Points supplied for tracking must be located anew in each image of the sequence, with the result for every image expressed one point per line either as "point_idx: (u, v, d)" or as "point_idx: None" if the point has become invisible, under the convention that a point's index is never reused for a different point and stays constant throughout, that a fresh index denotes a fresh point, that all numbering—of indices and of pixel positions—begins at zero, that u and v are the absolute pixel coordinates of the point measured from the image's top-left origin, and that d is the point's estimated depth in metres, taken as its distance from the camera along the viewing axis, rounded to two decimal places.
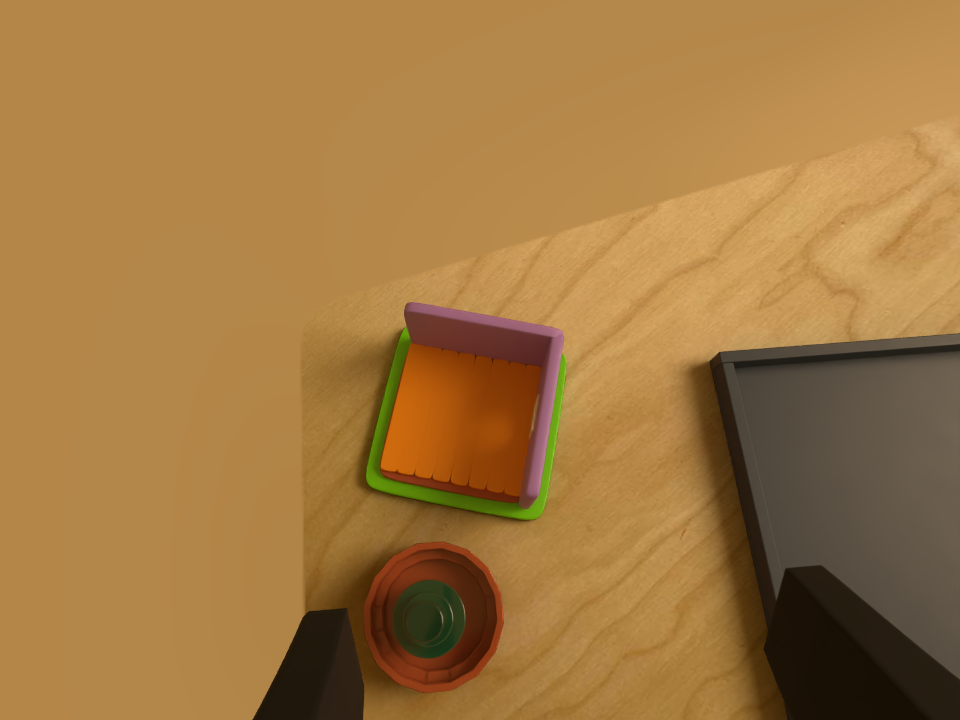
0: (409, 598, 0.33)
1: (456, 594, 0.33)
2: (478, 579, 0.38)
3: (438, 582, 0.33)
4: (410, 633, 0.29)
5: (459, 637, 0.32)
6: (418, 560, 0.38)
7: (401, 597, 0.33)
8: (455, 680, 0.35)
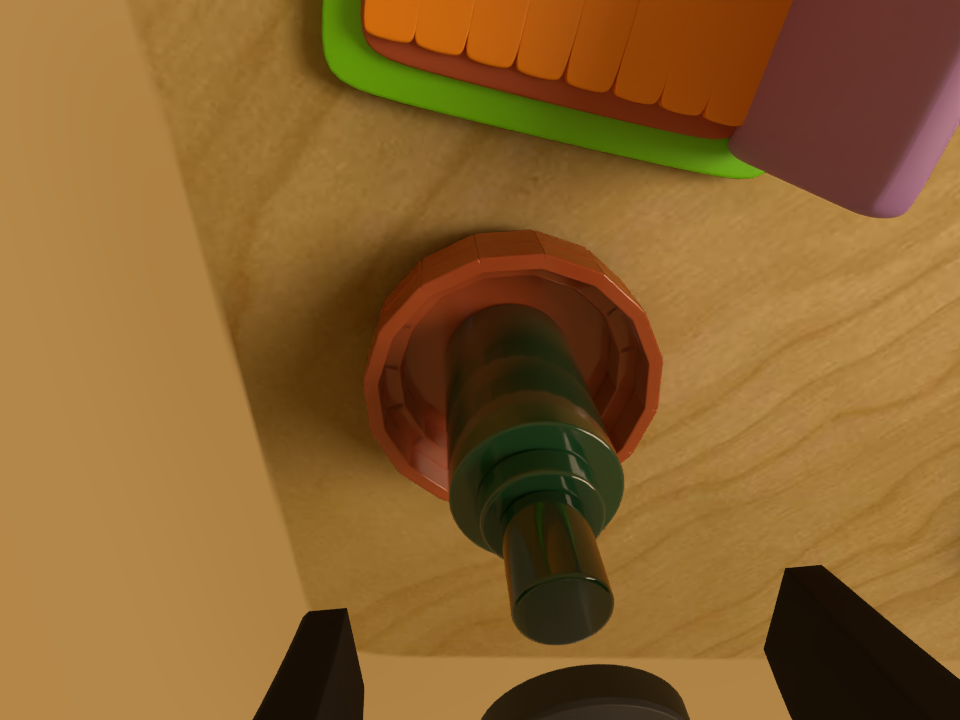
0: (491, 461, 0.13)
1: (609, 451, 0.13)
2: (609, 317, 0.17)
3: (566, 428, 0.13)
4: (524, 633, 0.11)
5: (604, 525, 0.14)
6: (477, 279, 0.16)
7: (470, 459, 0.13)
8: None
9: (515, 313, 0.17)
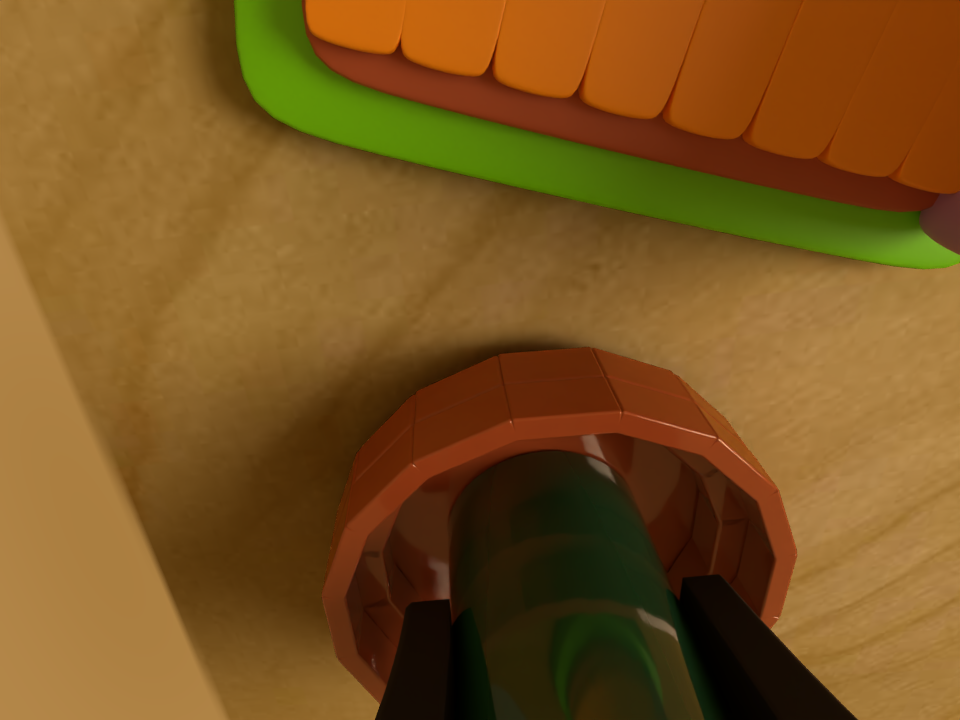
0: None
1: None
2: (709, 480, 0.11)
3: None
4: None
5: None
6: None
7: None
8: None
9: (559, 473, 0.11)
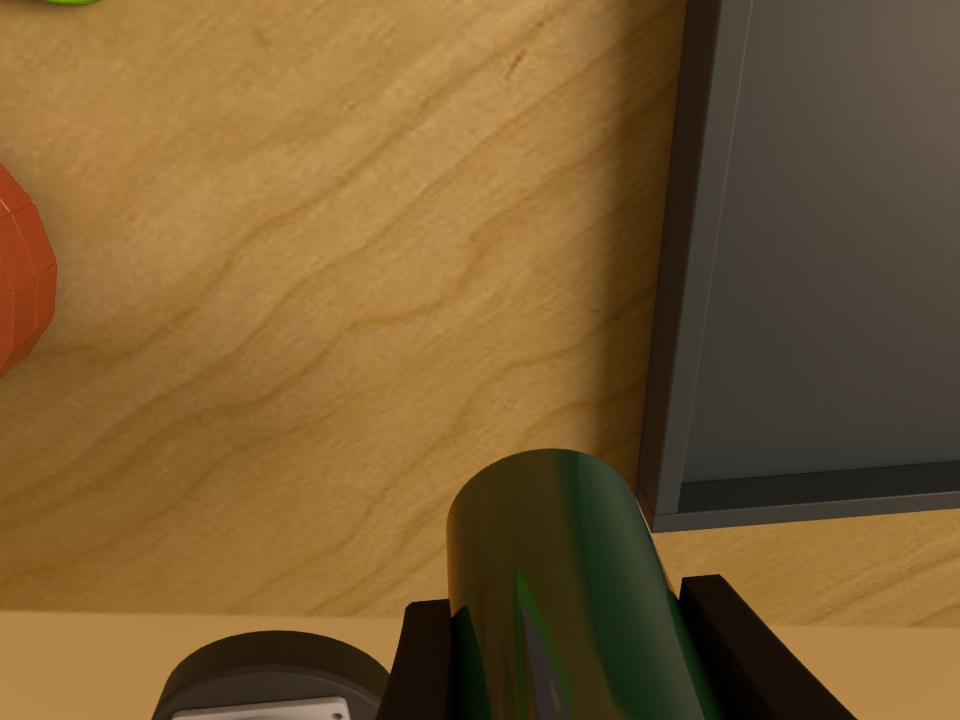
0: None
1: None
2: None
3: None
4: None
5: None
6: None
7: None
8: None
9: (558, 470, 0.11)
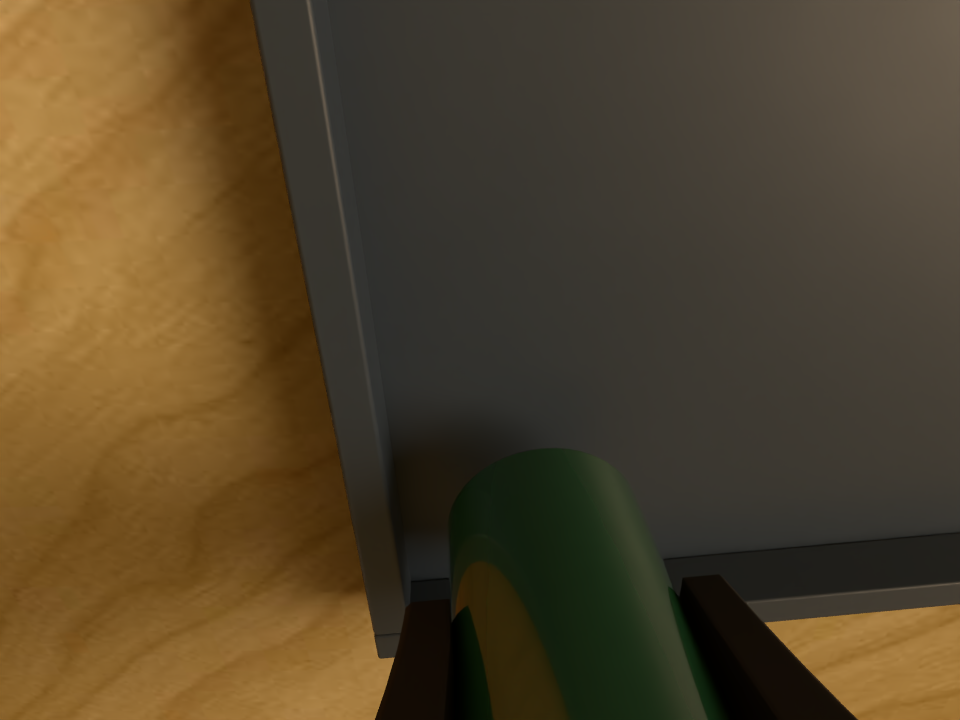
0: None
1: None
2: None
3: None
4: None
5: None
6: None
7: None
8: None
9: (559, 470, 0.11)
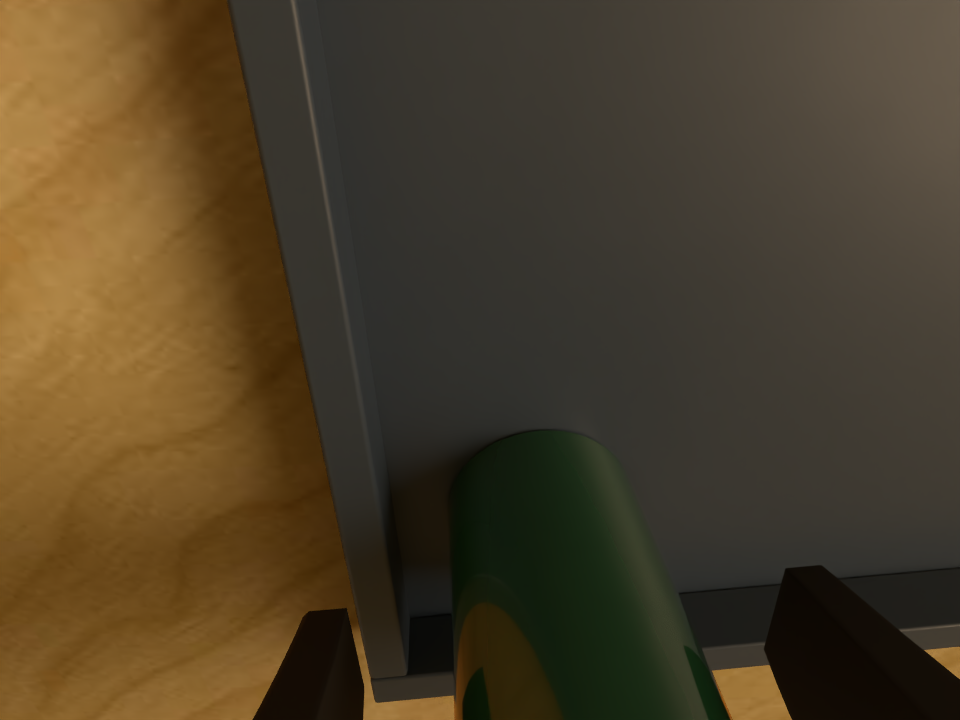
0: None
1: None
2: None
3: None
4: None
5: None
6: None
7: None
8: None
9: (554, 450, 0.11)
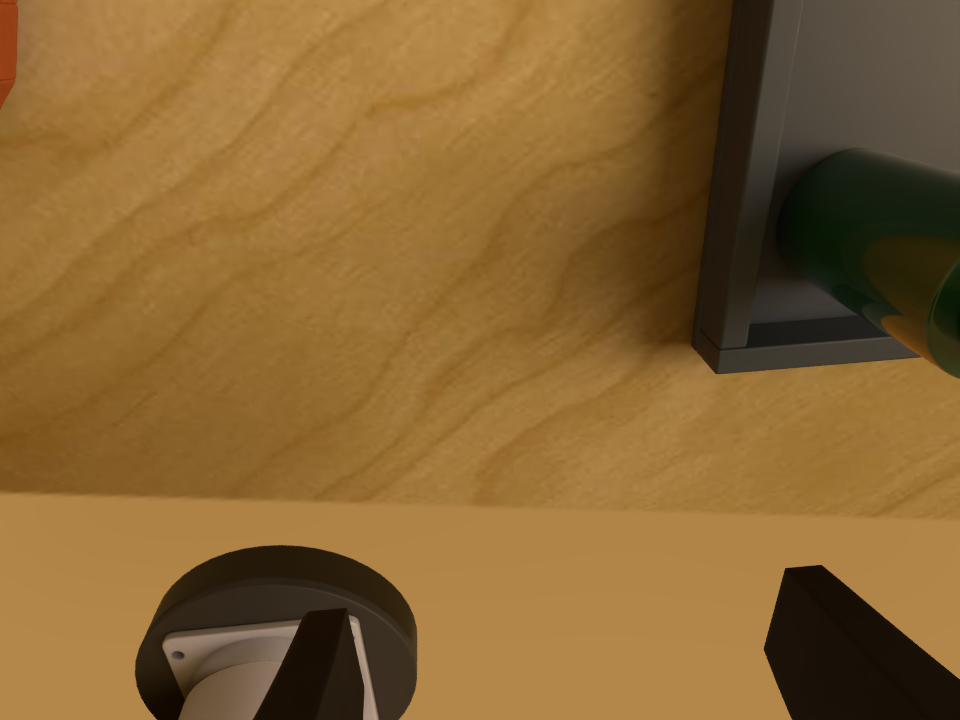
0: None
1: None
2: None
3: None
4: None
5: None
6: None
7: None
8: None
9: (882, 152, 0.16)
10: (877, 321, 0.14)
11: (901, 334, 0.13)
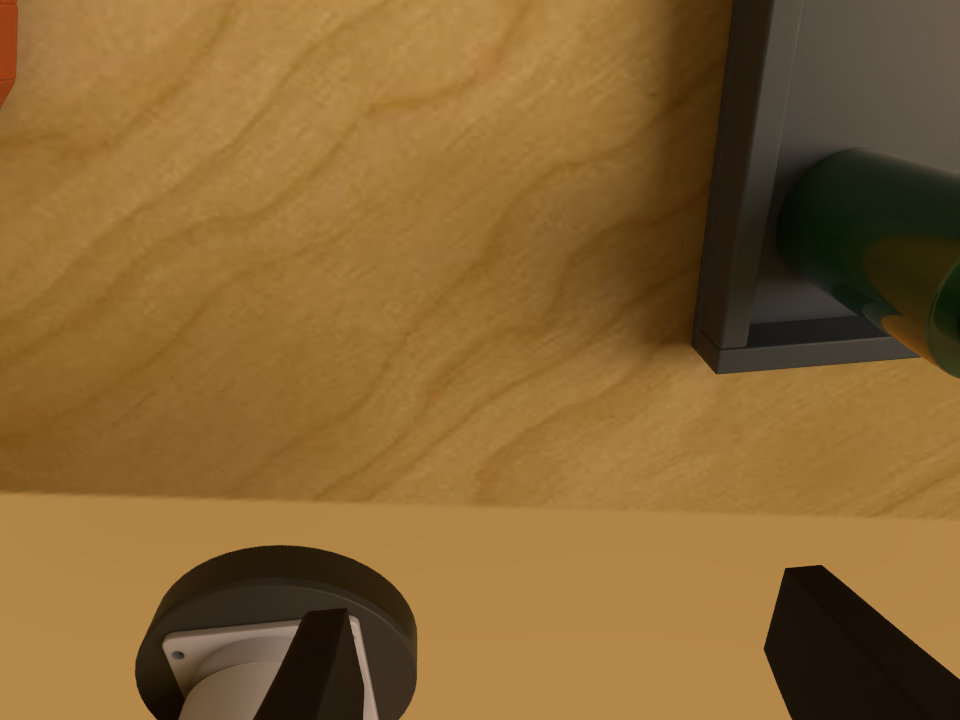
0: None
1: None
2: None
3: None
4: None
5: None
6: None
7: None
8: None
9: (882, 152, 0.16)
10: (877, 321, 0.14)
11: (901, 334, 0.13)
